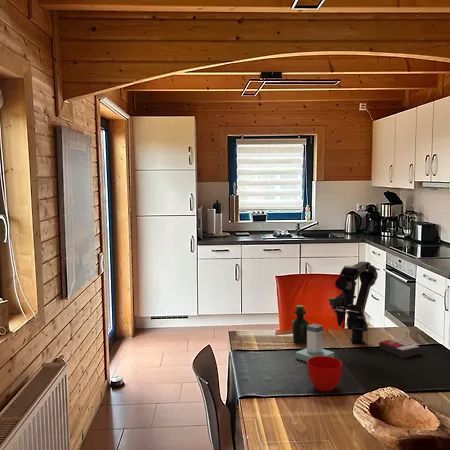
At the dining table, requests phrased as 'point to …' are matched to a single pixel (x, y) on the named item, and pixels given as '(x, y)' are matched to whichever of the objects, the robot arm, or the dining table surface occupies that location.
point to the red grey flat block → (400, 348)
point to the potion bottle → (300, 326)
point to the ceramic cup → (324, 372)
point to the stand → (306, 356)
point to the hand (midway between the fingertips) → (344, 326)
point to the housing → (315, 339)
